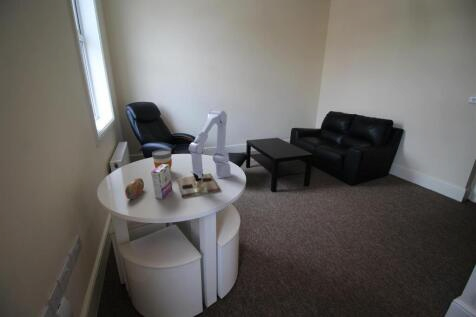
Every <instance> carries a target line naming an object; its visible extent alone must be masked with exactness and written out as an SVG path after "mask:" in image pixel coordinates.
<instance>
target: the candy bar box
mask: <svg viewBox="0 0 476 317" xmlns="http://www.w3.org/2000/svg"><path fill="white" fill-rule="evenodd" d="M150 173H151V179H152V185H153V190H154V197H155V199H158V200H159V199H160V200H164V199H165V198H166V197H167V196H168V195H169V194H170V193H171V192H172V191H173V185H172V177H171V173H170V168H169V165H167V164H161V165H160V166H158V167H157V168H155V169H153V170H151V171H150Z"/></svg>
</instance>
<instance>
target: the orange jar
mask: <svg viewBox="0 0 476 317" xmlns="http://www.w3.org/2000/svg"><path fill="white" fill-rule="evenodd" d="M152 159H153V164H154V167H155V169H156V168H157V167H158V166H160V165H161V164H167V165H169V168H170V174H171V172H172V166H173V162H172V161H173V159H172V151H171V150H170V149H158V150H155V151H152Z"/></svg>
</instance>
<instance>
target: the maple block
mask: <svg viewBox="0 0 476 317" xmlns="http://www.w3.org/2000/svg"><path fill="white" fill-rule="evenodd" d="M195 183H196V189H197V190H202V189H204V183H203V181H202V180H200V181H195Z"/></svg>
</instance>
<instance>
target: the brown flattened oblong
mask: <svg viewBox="0 0 476 317" xmlns="http://www.w3.org/2000/svg"><path fill="white" fill-rule="evenodd" d="M144 188H145V183H144V180H143V178H135V179H133V180H132V181H131V182H130V183H129V184H128V185H127V186H126V187H125V190H124V191H125V197H126V198H127V200H134V199H136V198H137V197H138V196H139V195H140V194H142V192H143V191H144Z"/></svg>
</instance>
